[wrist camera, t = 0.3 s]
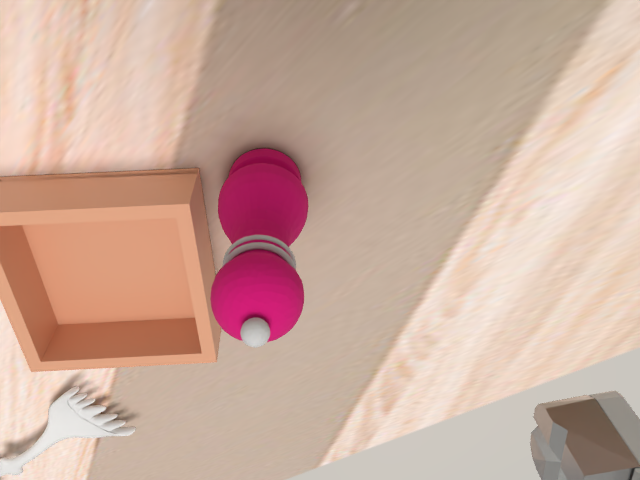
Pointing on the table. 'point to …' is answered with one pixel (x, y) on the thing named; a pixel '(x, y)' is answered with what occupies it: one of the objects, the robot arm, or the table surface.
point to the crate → (108, 269)
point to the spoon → (69, 427)
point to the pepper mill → (260, 248)
